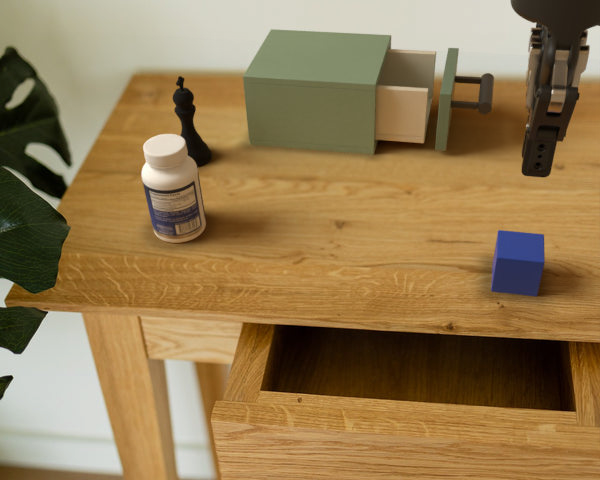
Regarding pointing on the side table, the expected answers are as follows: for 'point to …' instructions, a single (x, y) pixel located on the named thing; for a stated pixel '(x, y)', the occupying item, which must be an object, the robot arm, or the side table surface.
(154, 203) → the pill bottle
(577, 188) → the side table surface
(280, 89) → the green drawer cabinet
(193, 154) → the chess piece
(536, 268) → the blue rectangular box
